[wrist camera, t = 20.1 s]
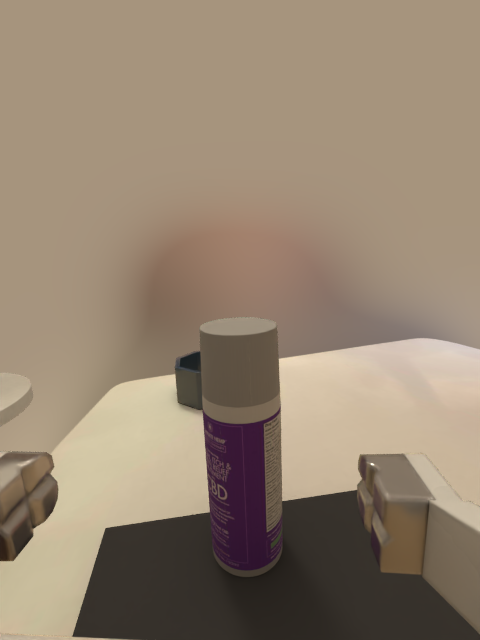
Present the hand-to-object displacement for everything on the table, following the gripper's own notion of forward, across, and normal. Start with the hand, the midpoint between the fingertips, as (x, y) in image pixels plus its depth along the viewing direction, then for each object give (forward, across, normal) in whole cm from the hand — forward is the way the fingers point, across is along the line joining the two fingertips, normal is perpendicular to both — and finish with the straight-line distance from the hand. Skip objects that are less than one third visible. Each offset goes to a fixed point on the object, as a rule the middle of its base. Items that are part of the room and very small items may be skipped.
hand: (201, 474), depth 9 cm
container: (+11, 0, -14) cm, 17 cm away
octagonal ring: (+35, -6, -14) cm, 38 cm away
